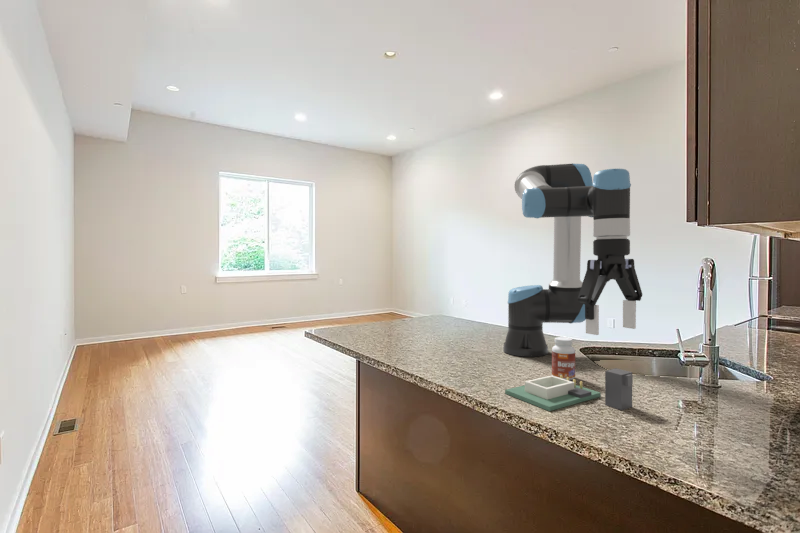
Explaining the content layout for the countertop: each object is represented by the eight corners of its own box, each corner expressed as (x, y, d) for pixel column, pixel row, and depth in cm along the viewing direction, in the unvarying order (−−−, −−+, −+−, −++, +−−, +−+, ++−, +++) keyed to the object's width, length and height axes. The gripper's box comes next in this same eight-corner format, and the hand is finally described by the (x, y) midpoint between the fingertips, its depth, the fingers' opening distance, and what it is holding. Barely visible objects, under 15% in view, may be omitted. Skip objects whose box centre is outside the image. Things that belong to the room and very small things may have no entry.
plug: (615, 401, 101) (615, 368, 101) (635, 407, 97) (635, 373, 97) (605, 404, 99) (605, 370, 99) (624, 411, 95) (624, 375, 95)
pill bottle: (557, 381, 118) (556, 341, 117) (548, 374, 124) (548, 336, 123) (579, 380, 118) (579, 340, 117) (569, 374, 124) (569, 336, 124)
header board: (554, 381, 117) (554, 369, 117) (600, 396, 105) (600, 382, 105) (505, 393, 108) (505, 379, 108) (549, 411, 96) (549, 395, 96)
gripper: (628, 239, 107) (628, 323, 108) (560, 238, 95) (560, 334, 95) (659, 237, 100) (658, 327, 101) (590, 237, 88) (590, 339, 89)
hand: (611, 331), depth 98 cm, fingers open, 13 cm apart
